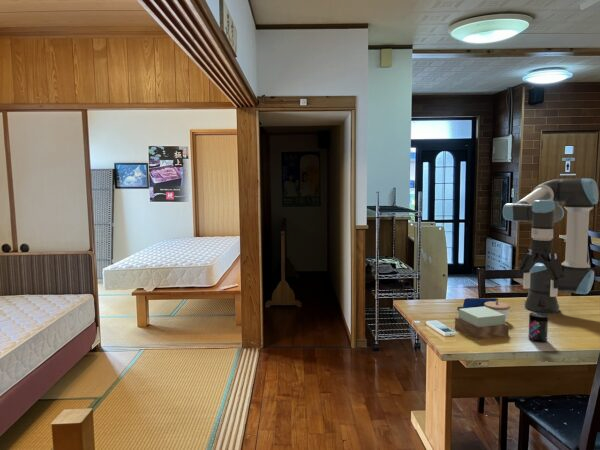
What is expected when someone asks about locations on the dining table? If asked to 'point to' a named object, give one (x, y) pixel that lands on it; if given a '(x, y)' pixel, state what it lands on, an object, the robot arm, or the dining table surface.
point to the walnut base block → (481, 329)
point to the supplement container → (538, 327)
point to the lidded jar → (498, 307)
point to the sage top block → (481, 316)
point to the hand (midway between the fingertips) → (539, 292)
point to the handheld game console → (476, 302)
